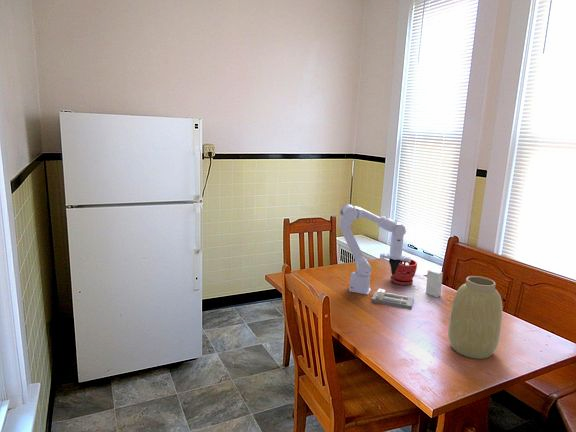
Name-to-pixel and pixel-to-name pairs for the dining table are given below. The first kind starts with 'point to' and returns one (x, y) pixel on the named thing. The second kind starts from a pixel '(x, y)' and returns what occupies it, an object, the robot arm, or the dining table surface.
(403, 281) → the plant pot
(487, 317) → the vase
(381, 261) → the dining table surface
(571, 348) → the dining table surface
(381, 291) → the fader tab
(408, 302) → the board
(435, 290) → the skincare box
